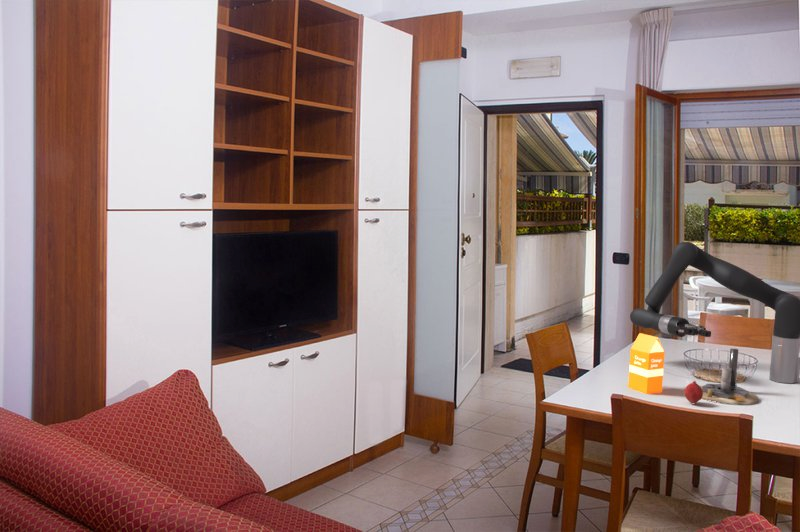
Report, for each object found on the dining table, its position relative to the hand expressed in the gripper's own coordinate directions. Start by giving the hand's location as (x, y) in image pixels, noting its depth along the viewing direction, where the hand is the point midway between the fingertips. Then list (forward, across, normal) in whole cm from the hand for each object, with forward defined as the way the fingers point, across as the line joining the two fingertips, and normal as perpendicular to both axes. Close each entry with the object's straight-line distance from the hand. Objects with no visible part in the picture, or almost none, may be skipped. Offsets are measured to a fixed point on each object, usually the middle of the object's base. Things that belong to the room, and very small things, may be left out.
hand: (709, 334), depth 266 cm
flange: (+16, -7, +17) cm, 25 cm away
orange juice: (-2, -28, +19) cm, 34 cm away
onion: (+17, -26, +19) cm, 36 cm away
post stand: (+15, -7, +19) cm, 25 cm away
